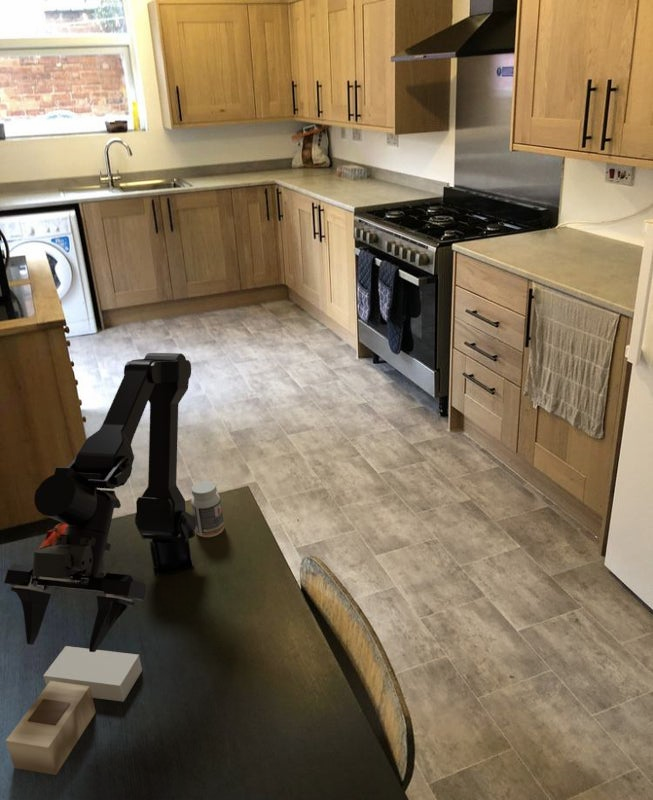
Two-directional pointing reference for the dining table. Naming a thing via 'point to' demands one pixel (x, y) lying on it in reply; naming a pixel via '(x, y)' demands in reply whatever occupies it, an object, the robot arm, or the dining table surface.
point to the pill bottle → (207, 509)
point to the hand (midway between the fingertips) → (60, 648)
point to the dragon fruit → (53, 535)
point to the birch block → (51, 727)
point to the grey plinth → (96, 671)
